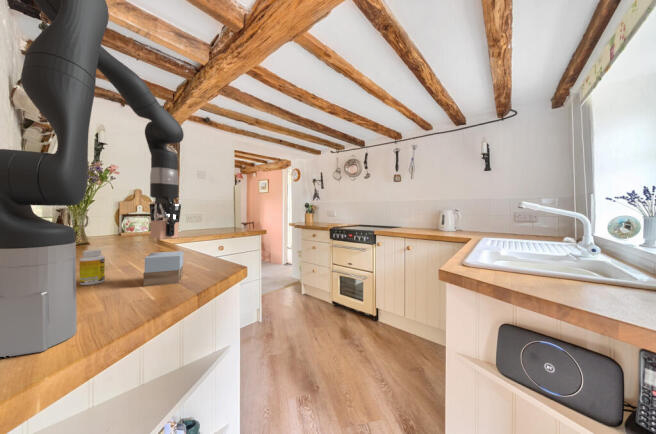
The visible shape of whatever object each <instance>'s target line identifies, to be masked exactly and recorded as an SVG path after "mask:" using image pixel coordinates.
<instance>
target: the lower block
mask: <svg viewBox="0 0 656 434" xmlns="http://www.w3.org/2000/svg"><path fill="white" fill-rule="evenodd" d="M183 267H184V264H183V265H182V267H181V269H180V270H173V271H160V272H148V273H145V271H143V272H142V273H143V274H142V275H143V278H142V279H143V288H144V287H145V288H146V287H155V286H166V285H175V284H176V285H177V284H180V281H181V280H182V277H183V276H184V274H183V273H184V271H183Z"/></svg>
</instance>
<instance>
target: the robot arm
mask: <svg viewBox="0 0 656 434" xmlns="http://www.w3.org/2000/svg"><path fill="white" fill-rule="evenodd" d="M33 2H34V3H35V5H36V6H37V8H38V9H39V10H40V11H41V12H42V13H43V15H45V17H46V18H47V19H48V20H49V21H50V24H49V25H48V26H46V27H45V28H44V30H42V31H41V32H40V33H39V35H38V36H37V37H36V38H35V39H34V40H33V41H32V43H30V45H29V47H28V48H27V49H26V52H25V56H24V59H23V64H22V65H23V66H22V70H21V75H20V83H21V86H22V89H23V90H24V92H25V94H26V95H27V97H28V98H29V100H30V101H31V102H32V104H33V105H34V106H35V107H36V109H37V110H38V111H39V113H41V115H42V116H43V117H44V118H45V120H46V121H47V123H49V125H50V127H51V128H52V130H53V132H54V133H55V136H56V141H57V147H56V148H57V149H56V151H55V152H54V153H50V152H43V151H41V152H40V151H39V152H38V151H31V150H29V151H28V150H19V149H10V148H9V149H7V148H0V357H4V358H7V357H6V356H9V357H8V358H10V357H15V356H21V355H28V354H35V353H41V352H45V351H46V350H48V349H49V348H51V347H53V346H56V345H58V344H60V343H63V342H65V341H67V340H68V339H70V338H72V337H73V336H74V335H75V334H76V333H77V329H78V327H77V326H78V325H77V324H78V323H77V318H78V317H77V252H76V251H77V249H76V248H77V246H76V245H77V241H76V239H77V237H76V236H77V234H76V230H75V228H74V227H72V226H69V225H65V224H63V223H57V222H54V221H51V220H47V219H45V218H43V217H40V216H39V215H37V214H35V212H34V211H33V208H32V206H49V207H50V206H52V207H55V206H57V207H58V206H59V207H61V206H63V207H65V206H69V207H71V206H77V205H79V204H81V203H82V201H83V200H84V198H85V195H86V192H87V189H88V170H89V169H88V166H89V165H88V163H89V161H88V160H89V132H90V130H89V129H90V122H91V116H92V110H93V105H94V104H93V103H94V98H95V91H96V80H97V79H96V78H97V70H98V71H99V72H100V73H101V74H102V75H103V76H104V77H105V78H106V79H107V80H108V81H109V82H110V85H112V86H113V88H115V90H116V91H117V92H118V94H120V96H121V97H122V99H123V100H124V101H125V102H126V104H127V105H128V106H129V107H130V109H131V110H132V111H133V112H134V114H136V116H137V117H140V118H142V119H147V120H149V122H148V123H147V124H146V126H145V128H144V136H145V140H146V142H147V143H146V144H147V147H148V150H149V153H150V155H151V158H150V176H149V180H150V181H149V190H150V191H149V196H150V197H151V198H152V199H153V198H154V203H149V204H148V205H149V214H150V215H149V216H150V222H151V221H158V220H165V221H166V224H168V225H166V236H174V225H175V224H176V223H177V222H178V223H180V220H181V219H180V217H181V211H182V210H181V209H182V205H181V203H176V202H175V199H179V188H180V187H179V183H180V180H179V172H178V171H179V170H178V162H179V160H178V155H177V153H176V152H174V151H171V150H168V147H167V144H171V145H172V144H179V143H181V142H182V141H183V139H184V137H185V136H184V135H185V134H184V131H183V130H184V129H183V128H182V125H181V124H180V123H179V121H178V120H177V119H176V118H175V117H174V116H173V115H171V113H170V112H168V110H167V109H166V108H164V107H163V106H162V105H161V104H160V103H159V102H158V100H157V98H156V97H155V95H154V94H153V92H152V91H151V90H150V88H149V87H148V85H147V84H146V82H145V81H144V80H143V79H142V78H141V77H140V76H139V75H138V74H137V73H136V72H135V71H134V70H132V69H131V68H130V67H128V66H127V65H126V64H124V63H122V61H120V60H119V59H117V58H116V57H115V56H114V55H112V54H111V53H110V52H108V51H107V50H106V49H105V48H104V47H103V46H102V43H103V39H104V37H105V36H104V35H105V33H106V30H107V26H108V23H109V18H110V14H109V8H108V4H107V1H106V0H33Z"/></svg>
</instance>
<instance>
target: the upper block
mask: <svg viewBox="0 0 656 434" xmlns="http://www.w3.org/2000/svg"><path fill="white" fill-rule="evenodd" d="M182 265H183V266H184V251H181V250H179V251H163V252H162V251H161V252H160V251H159V252H151V253H149V254H148V255H147V256H145V257H144V272H145V273H148V272H160V271H173V270H180V269H181V267H182Z"/></svg>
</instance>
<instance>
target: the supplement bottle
mask: <svg viewBox="0 0 656 434" xmlns="http://www.w3.org/2000/svg"><path fill="white" fill-rule="evenodd" d="M82 251H83V252H82V257H80V258H79V259H78V261H79V263H78V264H79V265H78V266H79V269H78V270H79V285H82V286H92V285H97V284H101V283H103V282H104V281H105V279H106V278H105V277H106V275H105V271H106V270H105V269H106V266H105V265H106V263H105V256H104V255H102V250H101V249H88V250H82Z"/></svg>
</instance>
